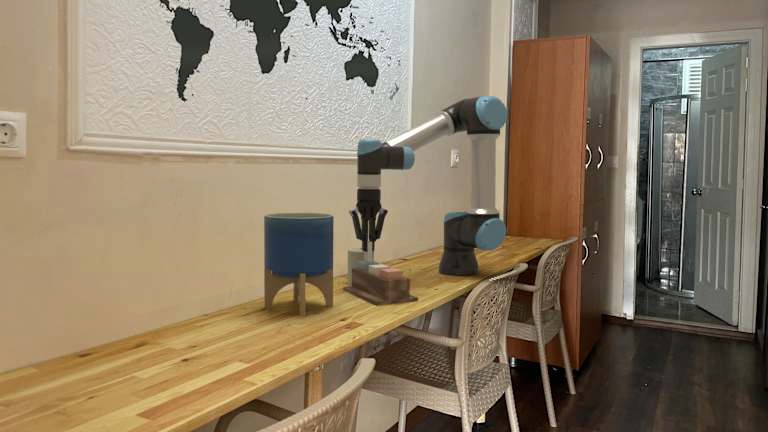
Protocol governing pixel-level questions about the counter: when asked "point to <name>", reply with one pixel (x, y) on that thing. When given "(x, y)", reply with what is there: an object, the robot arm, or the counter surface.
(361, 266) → the grey square block
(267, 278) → the planter
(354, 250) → the can
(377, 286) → the brown block holder tray
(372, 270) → the key white
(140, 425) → the counter surface
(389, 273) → the key terracotta
